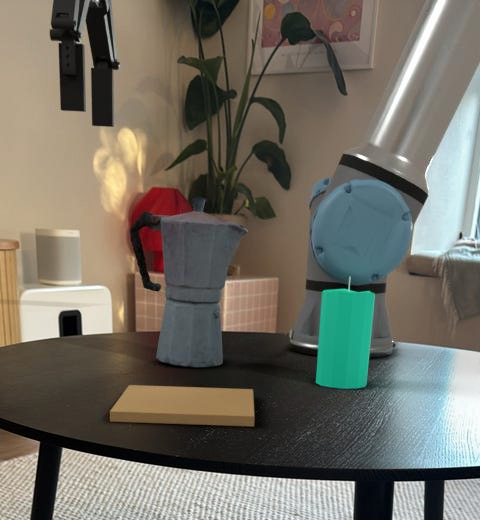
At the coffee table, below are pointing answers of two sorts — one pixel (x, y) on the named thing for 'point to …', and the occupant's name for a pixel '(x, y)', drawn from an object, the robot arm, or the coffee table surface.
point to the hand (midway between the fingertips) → (89, 119)
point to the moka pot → (190, 281)
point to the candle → (344, 338)
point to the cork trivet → (185, 406)
